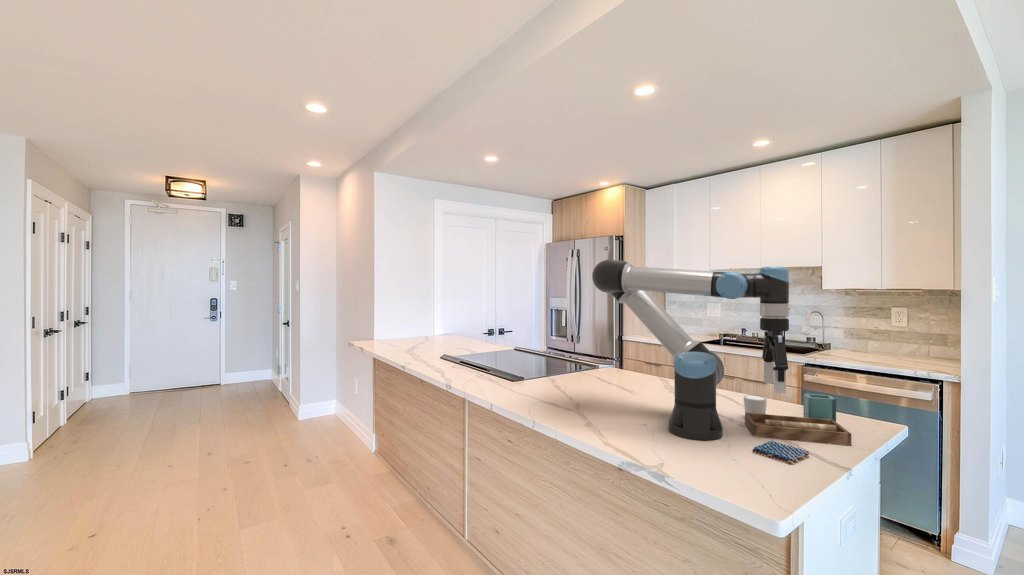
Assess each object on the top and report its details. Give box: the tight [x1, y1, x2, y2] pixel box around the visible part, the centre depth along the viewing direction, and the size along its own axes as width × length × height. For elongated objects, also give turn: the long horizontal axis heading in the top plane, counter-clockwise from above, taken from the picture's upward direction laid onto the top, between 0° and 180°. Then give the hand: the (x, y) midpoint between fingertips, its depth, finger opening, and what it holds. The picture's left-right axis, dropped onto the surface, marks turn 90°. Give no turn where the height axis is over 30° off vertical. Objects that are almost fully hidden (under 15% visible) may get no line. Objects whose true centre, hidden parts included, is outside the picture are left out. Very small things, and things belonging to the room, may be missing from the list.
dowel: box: [765, 420, 837, 432], centre depth 131 cm, size 7×3×18 cm
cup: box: [803, 393, 837, 422], centre depth 140 cm, size 7×6×9 cm
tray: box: [744, 412, 852, 447], centre depth 131 cm, size 24×14×3 cm, turn 71°
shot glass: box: [743, 395, 768, 414], centre depth 146 cm, size 7×7×7 cm
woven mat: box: [751, 440, 811, 466], centre depth 115 cm, size 10×11×2 cm
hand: (774, 387), depth 133 cm, fingers open, 13 cm apart
